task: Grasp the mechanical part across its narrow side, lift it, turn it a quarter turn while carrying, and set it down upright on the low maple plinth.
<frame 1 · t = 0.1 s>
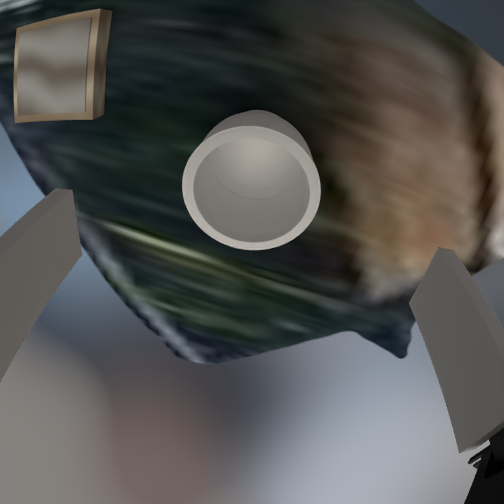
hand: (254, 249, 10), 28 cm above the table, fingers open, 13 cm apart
jar: (258, 143, 36), on the table
stand: (62, 66, 29), on the table
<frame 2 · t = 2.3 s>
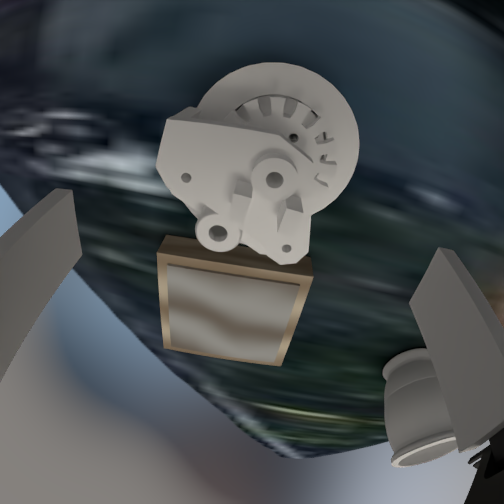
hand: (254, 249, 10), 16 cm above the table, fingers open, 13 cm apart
jar: (408, 363, 40), on the table
stand: (230, 299, 34), on the table
mechanical part: (268, 132, 24), on the table
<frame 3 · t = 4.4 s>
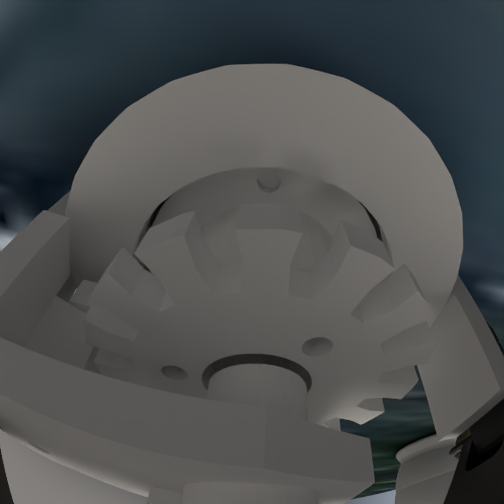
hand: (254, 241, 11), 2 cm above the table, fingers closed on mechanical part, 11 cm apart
jar: (426, 442, 29), on the table
mechanical part: (254, 209, 13), on the table, touching gripper
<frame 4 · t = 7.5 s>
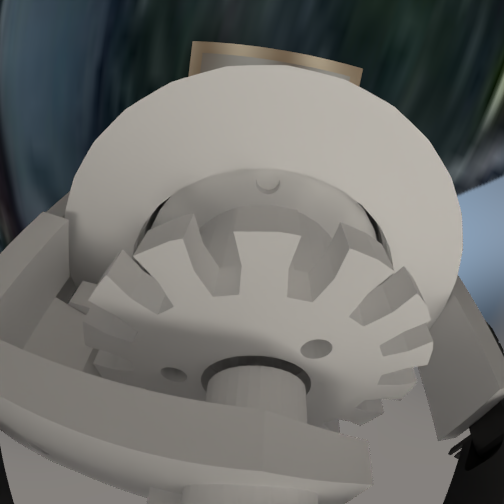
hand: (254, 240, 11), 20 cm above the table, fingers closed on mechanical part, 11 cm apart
stand: (266, 122, 27), on the table
mechanical part: (254, 210, 13), point 18 cm above the table, touching gripper
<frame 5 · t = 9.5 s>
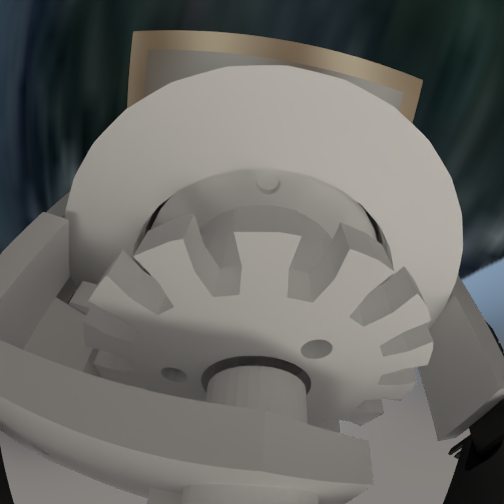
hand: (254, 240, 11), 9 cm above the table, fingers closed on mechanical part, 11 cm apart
stand: (260, 160, 18), on the table
mechanical part: (254, 210, 13), point 6 cm above the table, touching gripper
when the fingers open (7 cm above the table, at t = 11.1 s): mechanical part drops 1 cm, resting on stand.
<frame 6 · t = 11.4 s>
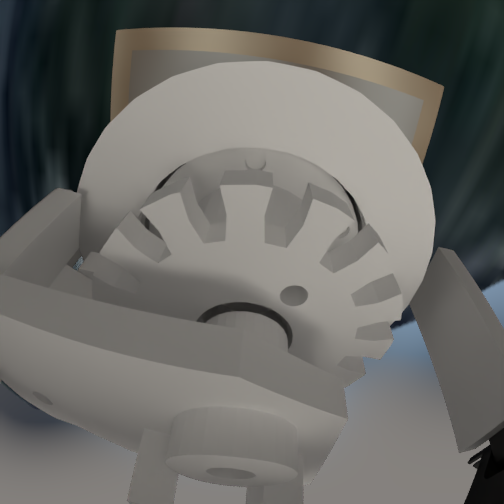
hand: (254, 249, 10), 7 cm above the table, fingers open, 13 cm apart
stand: (260, 173, 16), on the table
mechanical part: (247, 196, 14), point 3 cm above the table, touching stand
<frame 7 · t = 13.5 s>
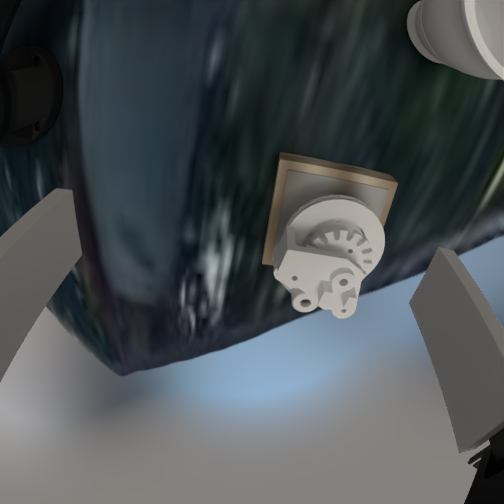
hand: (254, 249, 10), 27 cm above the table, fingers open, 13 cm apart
jar: (435, 31, 24), on the table
stand: (325, 213, 39), on the table
mechanical part: (324, 225, 37), point 3 cm above the table, touching stand
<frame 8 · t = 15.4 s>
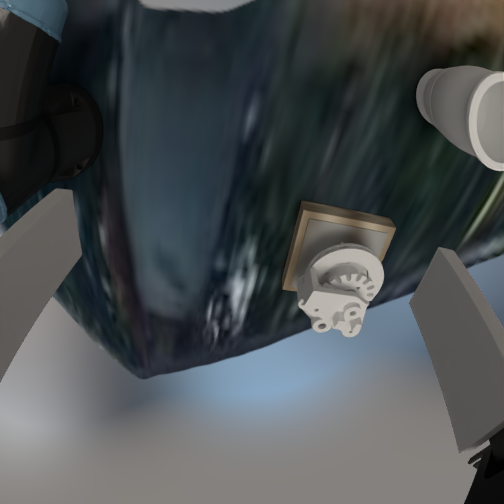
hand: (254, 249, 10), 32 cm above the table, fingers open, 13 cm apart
jar: (439, 97, 33), on the table
stand: (335, 248, 48), on the table
mechanical part: (335, 260, 45), point 3 cm above the table, touching stand
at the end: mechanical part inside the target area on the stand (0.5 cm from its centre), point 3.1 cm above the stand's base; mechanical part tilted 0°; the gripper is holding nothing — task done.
